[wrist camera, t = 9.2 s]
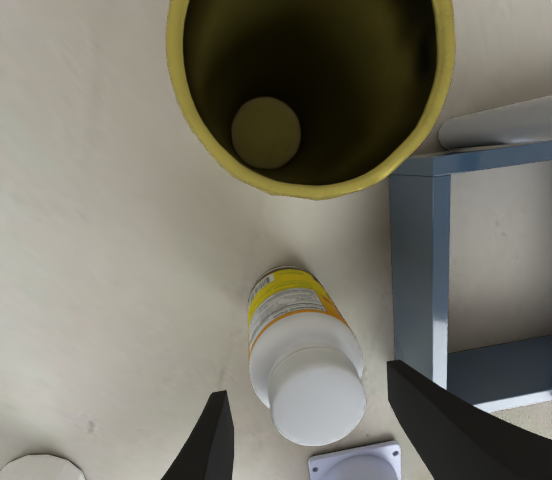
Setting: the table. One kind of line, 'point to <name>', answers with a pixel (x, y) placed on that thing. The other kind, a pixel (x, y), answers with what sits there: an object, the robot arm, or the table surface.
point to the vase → (310, 86)
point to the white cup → (41, 469)
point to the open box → (435, 258)
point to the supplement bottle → (304, 358)
